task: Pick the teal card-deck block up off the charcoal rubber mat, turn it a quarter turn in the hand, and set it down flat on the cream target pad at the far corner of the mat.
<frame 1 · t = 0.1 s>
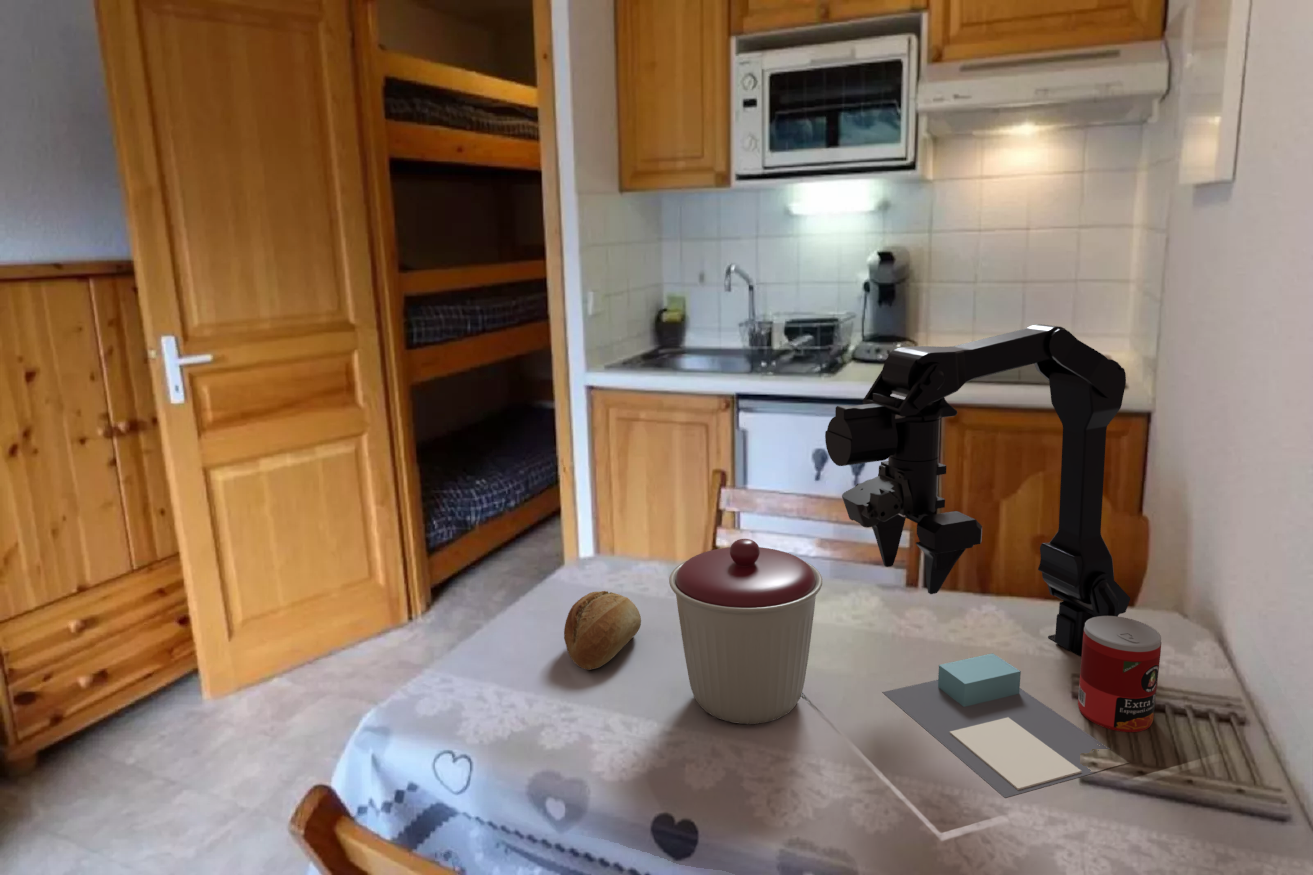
hand: (909, 579, 106), 14 cm above the table, fingers open, 9 cm apart
bread roll: (603, 652, 121), on the table
canned food: (1113, 718, 101), on the table
deck: (978, 690, 106), resting on mat
canister: (746, 703, 107), on the table
mat: (996, 728, 99), on the table
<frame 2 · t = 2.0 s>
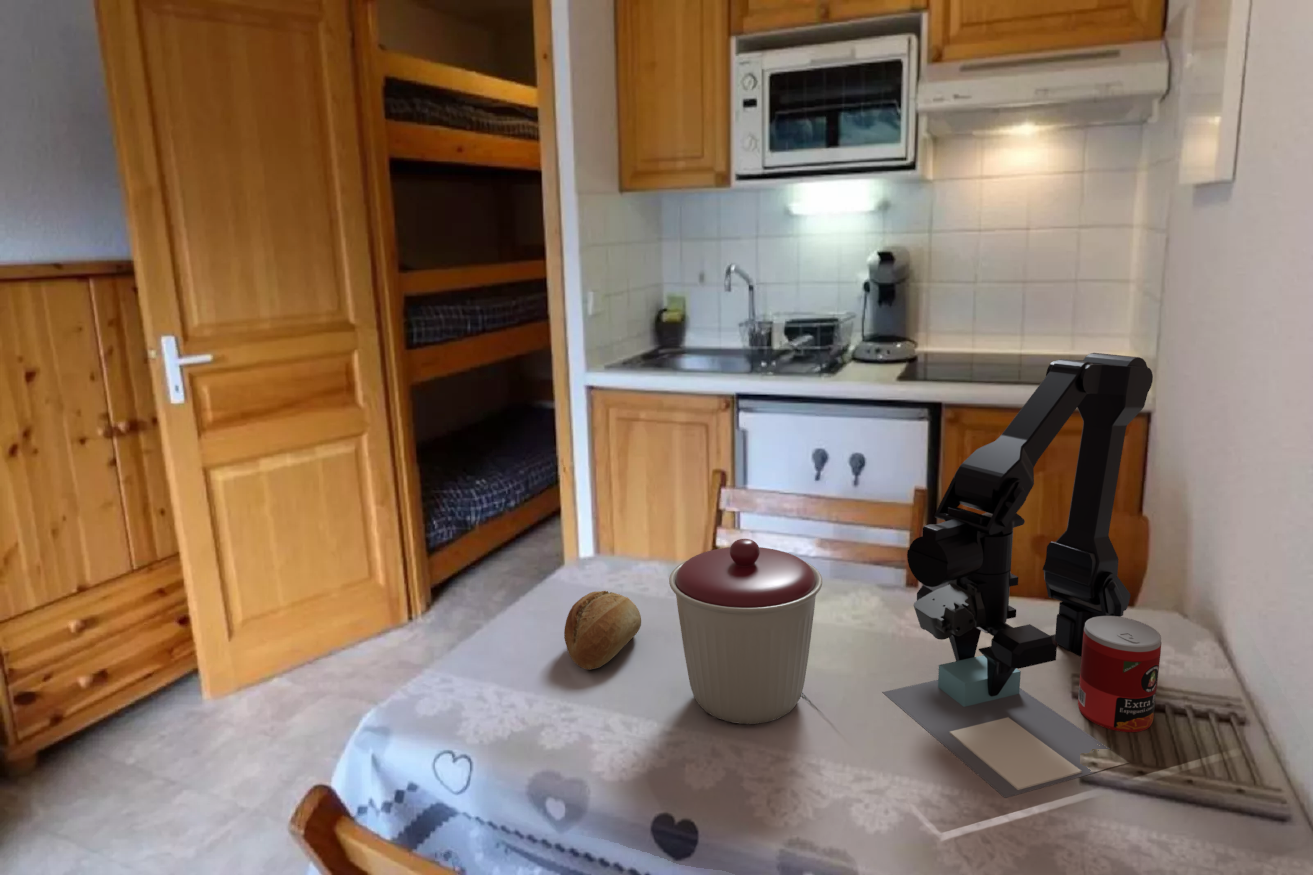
hand: (978, 685, 106), 1 cm above the table, fingers closed on deck, 5 cm apart
deck: (978, 690, 106), resting on mat, touching gripper
everything else where it was.
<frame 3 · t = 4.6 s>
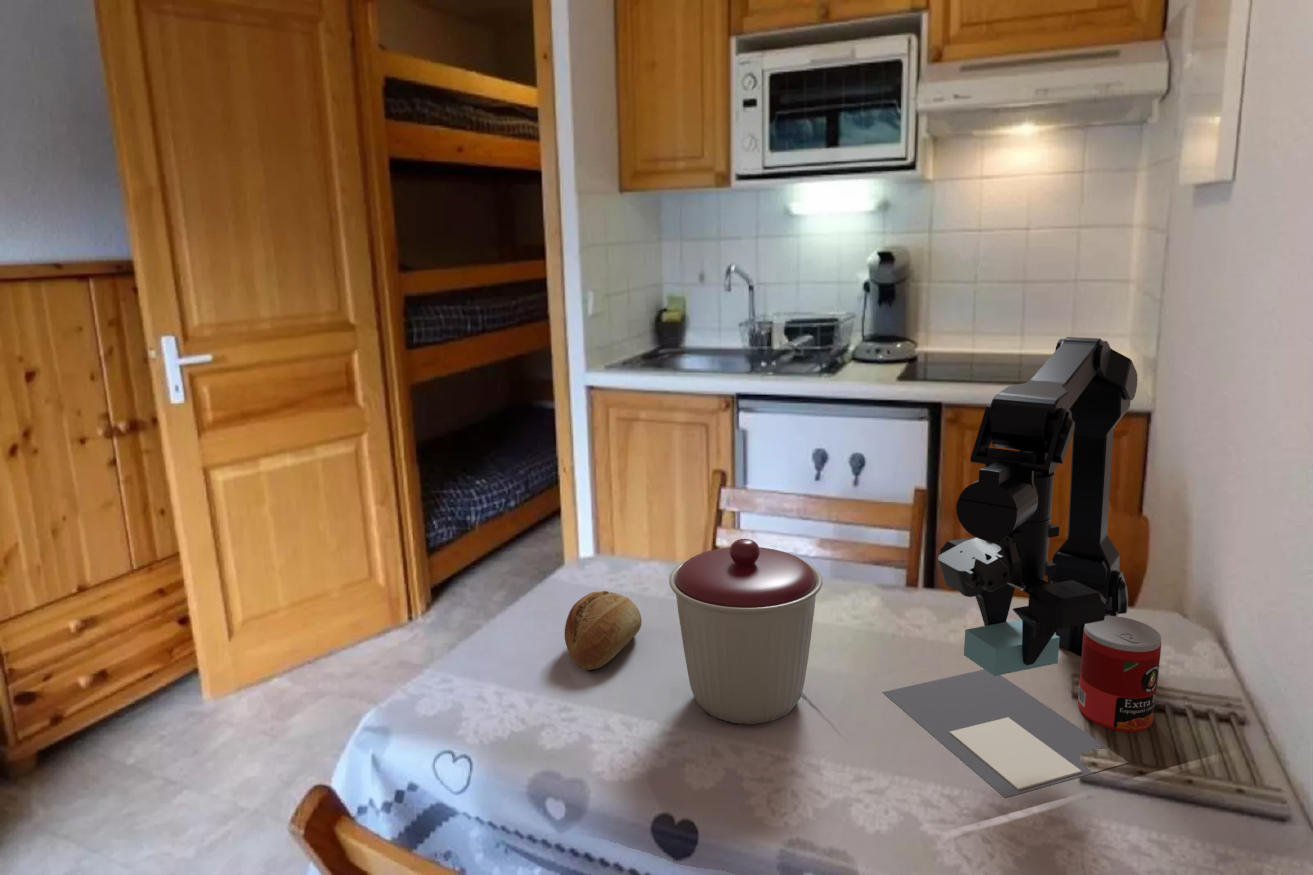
hand: (1011, 653, 93), 11 cm above the table, fingers closed on deck, 5 cm apart
deck: (1010, 659, 93), point 11 cm above the table, touching gripper
everything else where it was.
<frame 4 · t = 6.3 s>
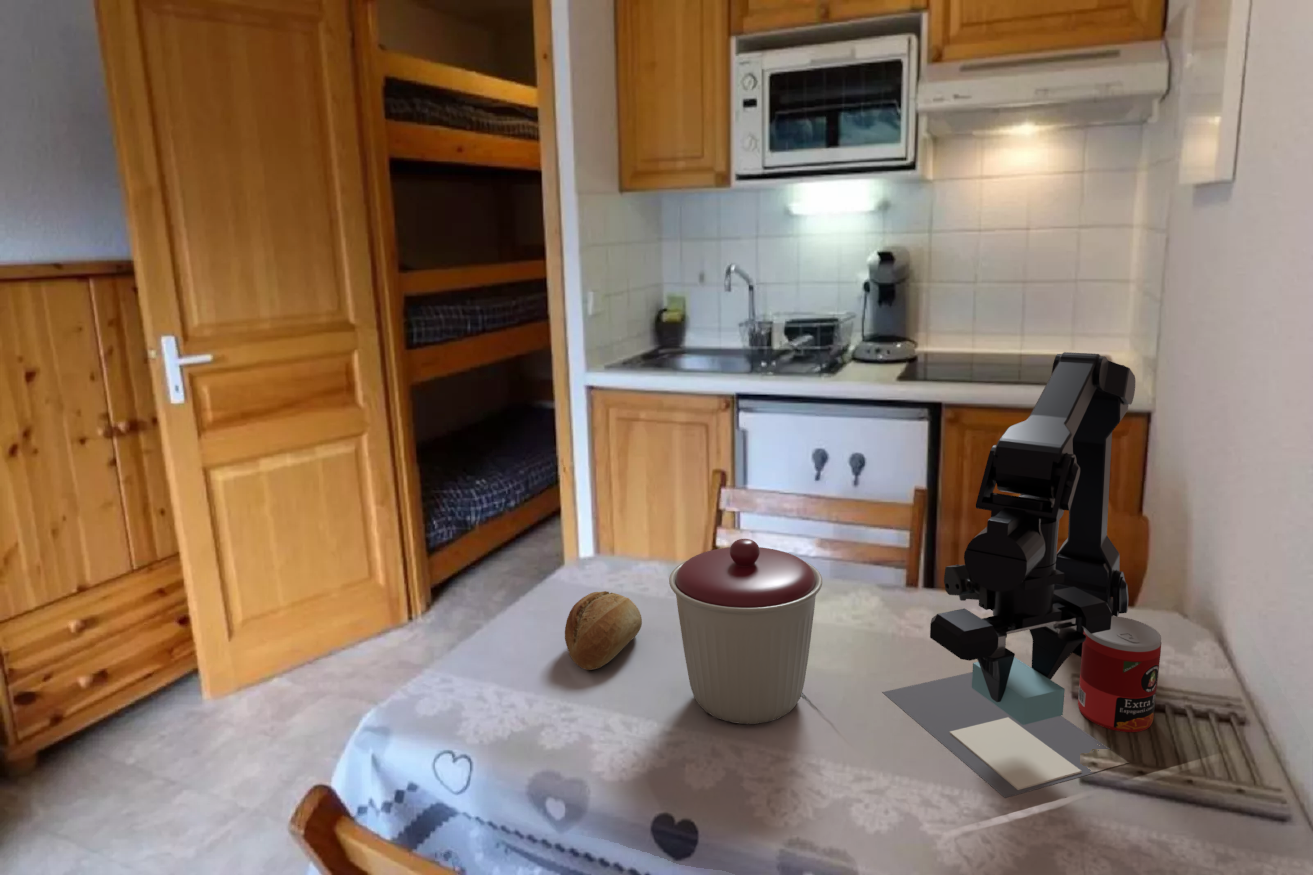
hand: (1016, 695, 92), 7 cm above the table, fingers closed on deck, 5 cm apart
deck: (1015, 700, 93), point 7 cm above the table, touching gripper
everything else where it was.
when the fingers open (2 cm above the table, at t = 7.5 s): deck drops 1 cm, resting on mat.
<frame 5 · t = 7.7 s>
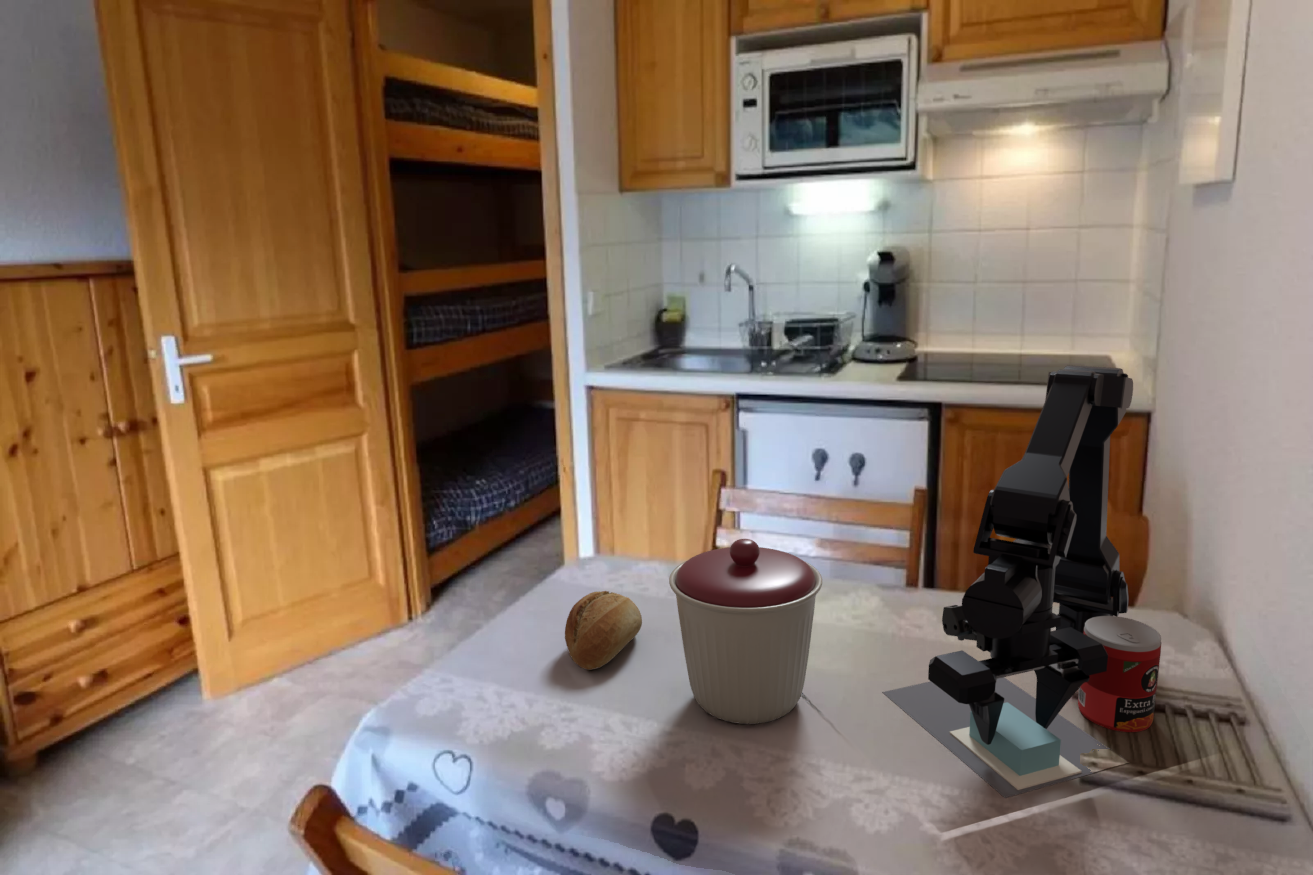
hand: (1013, 735, 93), 2 cm above the table, fingers open, 7 cm apart
deck: (1012, 749, 94), point 1 cm above the table, touching mat
everything else where it was.
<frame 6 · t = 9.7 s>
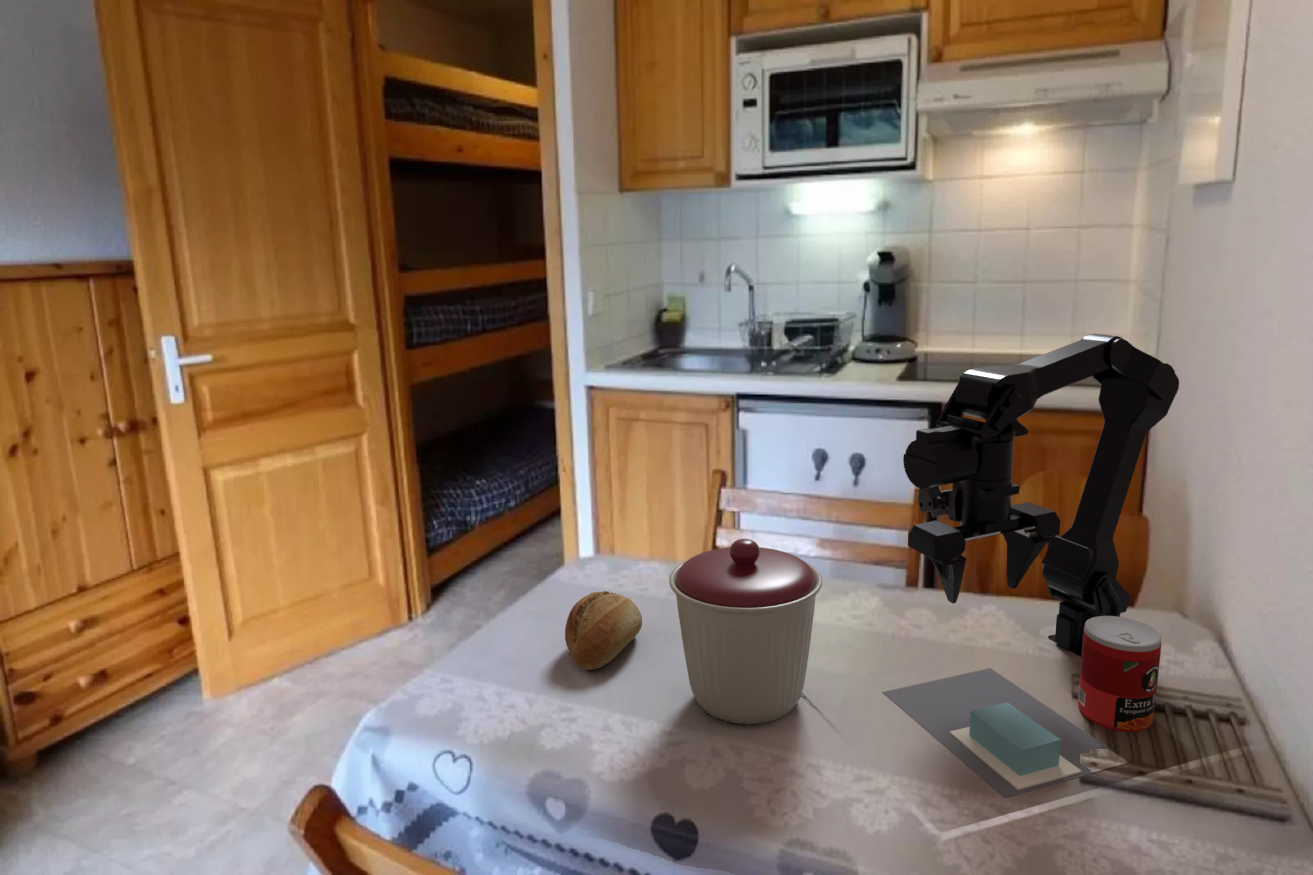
hand: (982, 594, 108), 11 cm above the table, fingers open, 9 cm apart
nothing on the table moved.
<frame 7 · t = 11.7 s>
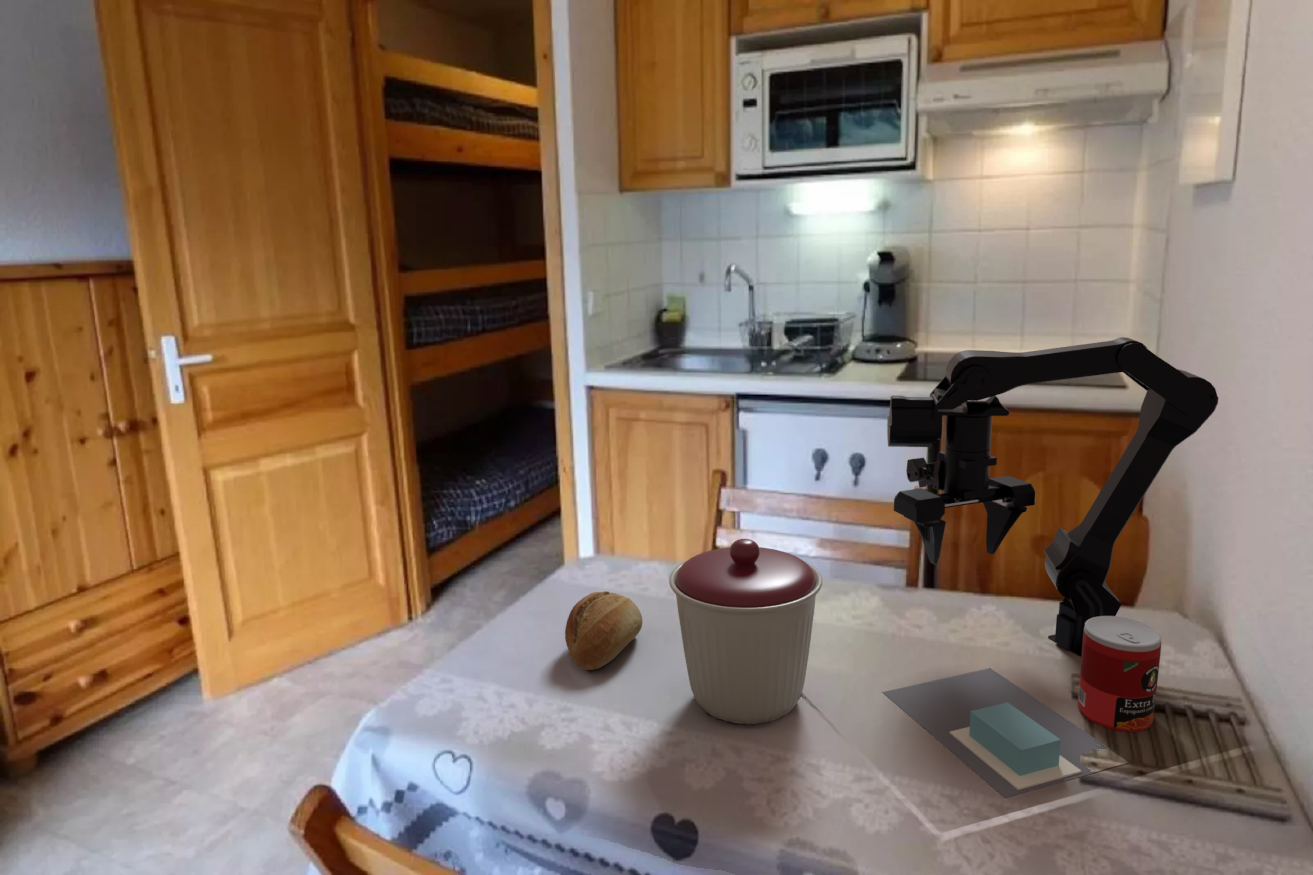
hand: (962, 558, 118), 12 cm above the table, fingers open, 9 cm apart
nothing on the table moved.
at the end: deck 0.1 cm from the target spot on the mat, point 0.7 cm above the mat's base; deck tilted 0°; the gripper is holding nothing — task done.
